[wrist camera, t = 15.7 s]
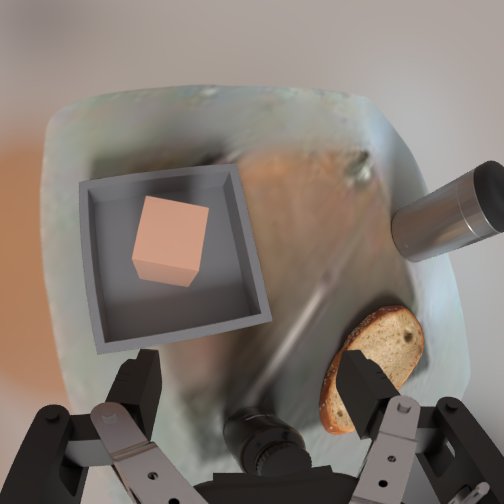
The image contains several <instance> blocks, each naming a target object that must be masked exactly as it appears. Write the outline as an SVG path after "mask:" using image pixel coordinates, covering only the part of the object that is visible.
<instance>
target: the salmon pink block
mask: <svg viewBox="0 0 504 504" xmlns="http://www.w3.org/2000/svg"><path fill="white" fill-rule="evenodd" d="M208 211H209V208H207V207H202V206H197V205H192V204H187V203H182V202H177V201H171V200H166V199H161V198H156V197H150V196H146V198H145V202H144V206H143V210H142V214H141V219H140V223H139V227H138V232H137V236H136V241H135V245H134V250H133V255H132V261H133V263H134V266H135V268H136V271H137V273H138V276H139V278H140V279H144V280H149V281H155V282H160V283H166V284H172V285H177V286H183V287H189V285H190V284H191V282H192V281H193V279H194V278H195V276H196V275H197V273H198V272H199V267H200V260H201V254H202V247H203V241H204V235H205V229H206V223H207V217H208Z"/></svg>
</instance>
